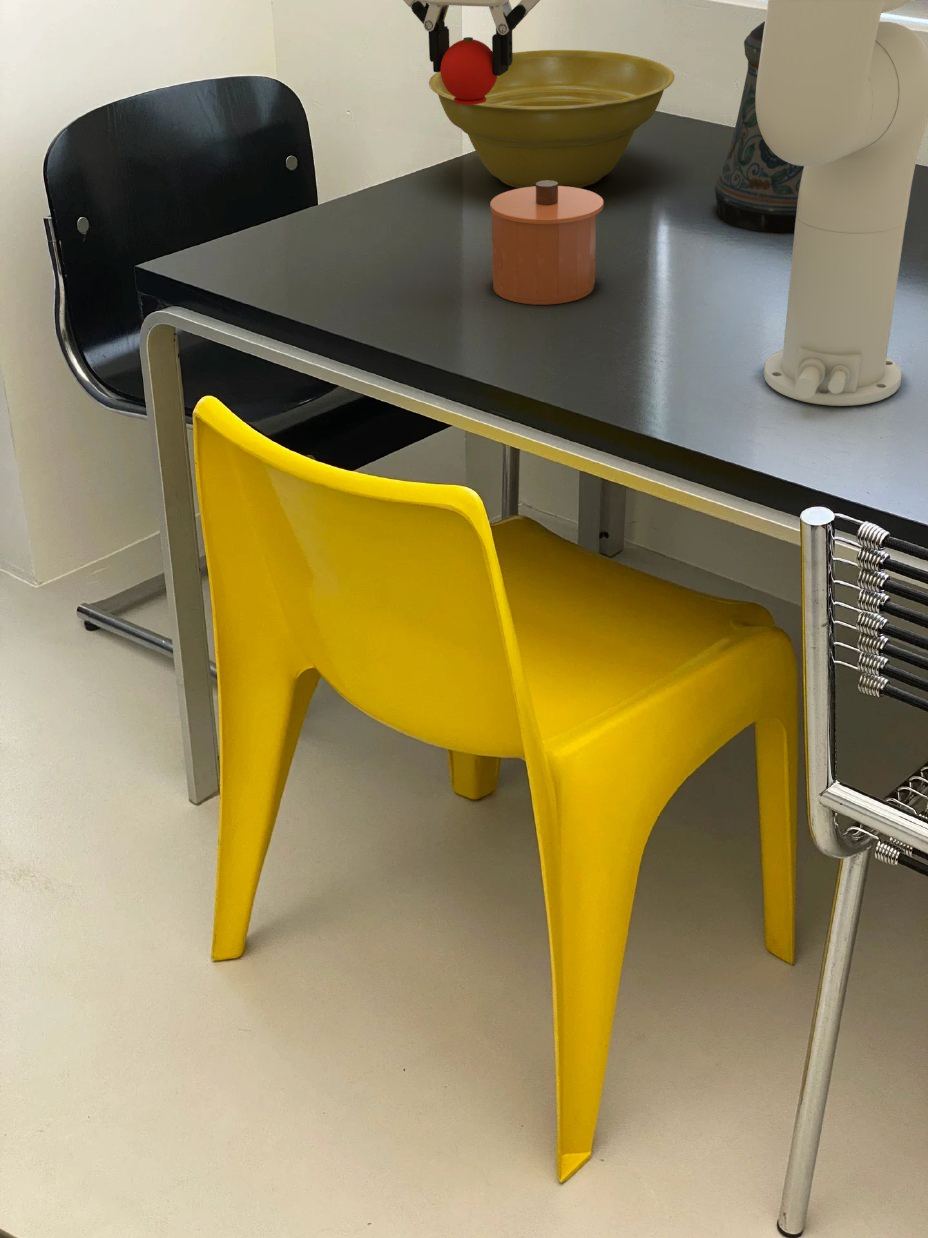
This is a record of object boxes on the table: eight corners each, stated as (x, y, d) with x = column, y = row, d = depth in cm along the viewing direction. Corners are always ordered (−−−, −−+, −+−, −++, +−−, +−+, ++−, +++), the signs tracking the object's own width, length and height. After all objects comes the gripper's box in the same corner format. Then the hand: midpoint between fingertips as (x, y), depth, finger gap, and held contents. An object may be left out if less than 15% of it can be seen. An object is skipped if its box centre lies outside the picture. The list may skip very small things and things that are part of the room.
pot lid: (587, 233, 147) (588, 203, 145) (475, 225, 150) (475, 195, 149) (615, 199, 157) (615, 170, 155) (509, 192, 160) (509, 164, 158)
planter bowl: (568, 229, 175) (569, 116, 168) (384, 184, 194) (378, 81, 186) (716, 170, 194) (723, 67, 187) (536, 134, 213) (536, 40, 206)
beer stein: (729, 189, 187) (743, -17, 173) (880, 201, 181) (907, -11, 167) (699, 227, 174) (713, 8, 160) (861, 241, 168) (889, 15, 154)
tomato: (487, 108, 146) (485, 44, 143) (433, 106, 148) (430, 42, 145) (506, 95, 151) (505, 33, 148) (453, 93, 153) (451, 31, 149)
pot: (577, 308, 152) (578, 226, 147) (479, 299, 156) (477, 217, 151) (605, 274, 161) (607, 195, 156) (512, 265, 164) (511, 187, 159)
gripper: (370, -119, 138) (381, 74, 148) (538, -118, 133) (538, 83, 143) (400, -128, 144) (408, 59, 154) (562, -126, 139) (560, 67, 149)
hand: (471, 69), depth 148 cm, fingers closed on tomato, 5 cm apart
